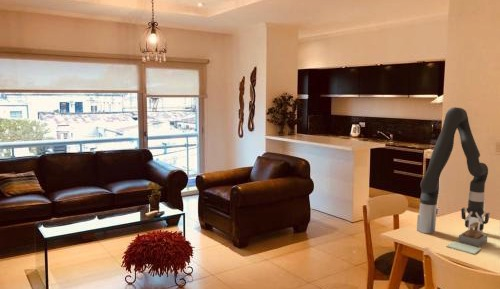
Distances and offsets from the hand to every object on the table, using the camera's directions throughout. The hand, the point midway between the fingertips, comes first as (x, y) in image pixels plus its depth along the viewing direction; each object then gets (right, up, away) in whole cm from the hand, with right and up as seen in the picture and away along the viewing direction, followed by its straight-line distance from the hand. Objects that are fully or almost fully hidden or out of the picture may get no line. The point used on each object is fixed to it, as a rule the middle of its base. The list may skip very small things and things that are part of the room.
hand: (473, 228), depth 227 cm
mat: (-10, -9, -8) cm, 15 cm away
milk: (+10, -6, +17) cm, 20 cm away
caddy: (0, -8, +1) cm, 8 cm away
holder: (0, -8, +1) cm, 8 cm away
